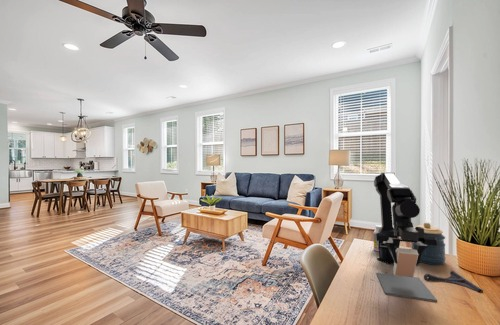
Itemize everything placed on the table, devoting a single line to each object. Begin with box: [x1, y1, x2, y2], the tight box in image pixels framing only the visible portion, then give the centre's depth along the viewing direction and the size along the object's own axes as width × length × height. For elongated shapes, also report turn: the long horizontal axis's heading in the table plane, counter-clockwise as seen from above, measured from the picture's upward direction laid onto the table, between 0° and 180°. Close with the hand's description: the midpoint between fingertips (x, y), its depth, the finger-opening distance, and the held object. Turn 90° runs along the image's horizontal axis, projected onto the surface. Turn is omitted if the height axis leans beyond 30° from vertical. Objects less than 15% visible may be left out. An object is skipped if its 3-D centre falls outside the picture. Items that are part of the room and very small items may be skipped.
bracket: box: [423, 270, 484, 293], centre depth 89 cm, size 14×15×3 cm
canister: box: [410, 221, 447, 266], centre depth 109 cm, size 13×13×18 cm
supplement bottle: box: [373, 224, 382, 252], centre depth 122 cm, size 7×7×13 cm
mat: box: [375, 272, 438, 303], centre depth 86 cm, size 16×15×1 cm
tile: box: [392, 247, 419, 277], centre depth 83 cm, size 2×6×12 cm, turn 72°
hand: (406, 264), depth 82 cm, fingers closed on tile, 6 cm apart
